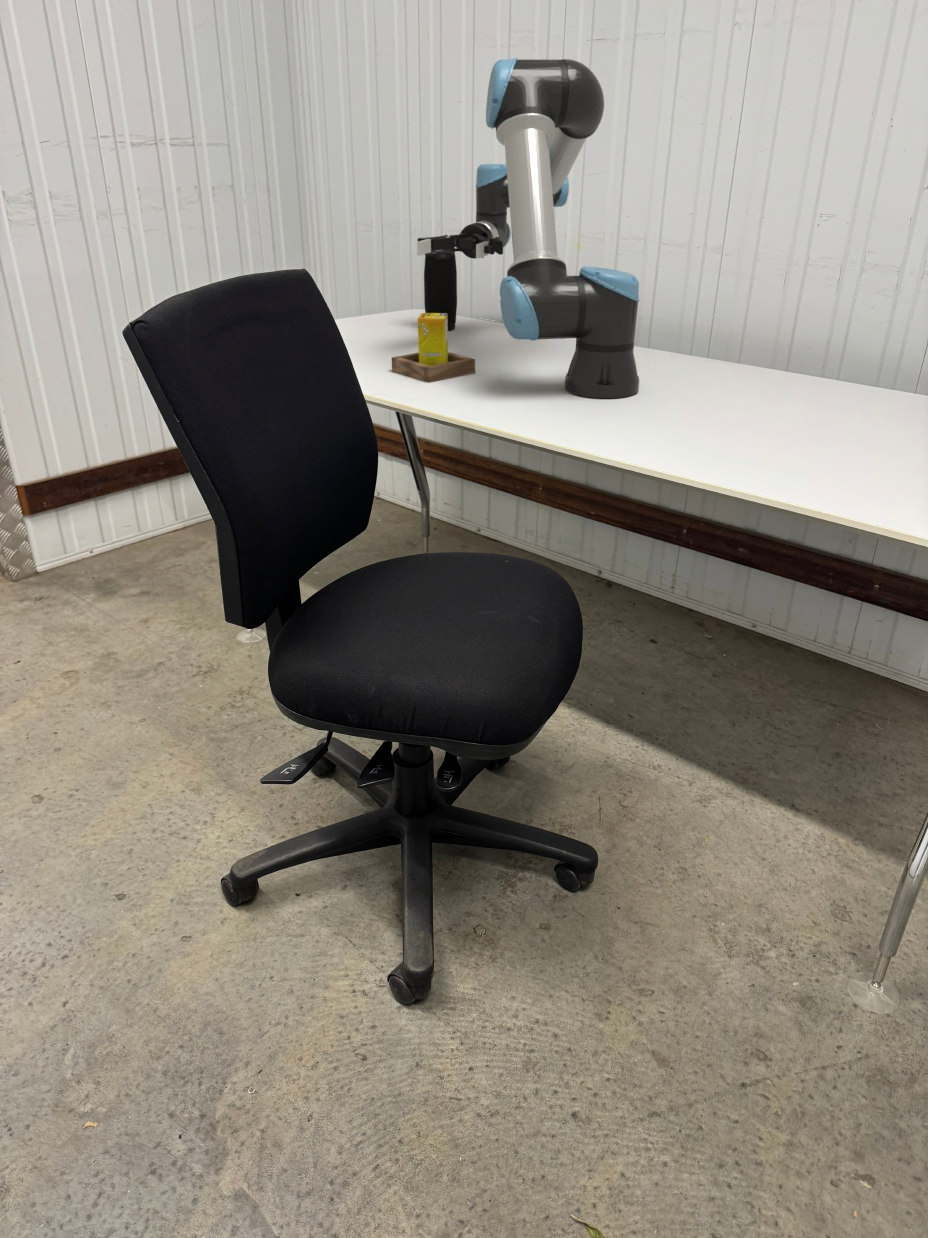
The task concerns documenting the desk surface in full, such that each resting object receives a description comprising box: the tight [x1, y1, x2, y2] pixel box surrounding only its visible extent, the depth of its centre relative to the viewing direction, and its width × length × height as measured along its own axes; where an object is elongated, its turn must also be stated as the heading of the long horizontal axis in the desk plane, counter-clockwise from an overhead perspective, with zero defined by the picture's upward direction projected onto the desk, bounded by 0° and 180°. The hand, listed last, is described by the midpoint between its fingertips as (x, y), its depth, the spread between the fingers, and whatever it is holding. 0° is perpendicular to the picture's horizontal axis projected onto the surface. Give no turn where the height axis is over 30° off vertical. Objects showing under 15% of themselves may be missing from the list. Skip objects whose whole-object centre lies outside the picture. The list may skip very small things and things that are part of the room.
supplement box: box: [417, 312, 449, 366], centre depth 193 cm, size 6×6×11 cm
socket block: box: [391, 351, 476, 383], centre depth 196 cm, size 13×13×3 cm
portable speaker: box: [423, 250, 458, 332], centre depth 234 cm, size 9×9×20 cm
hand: (447, 249), depth 193 cm, fingers open, 13 cm apart
